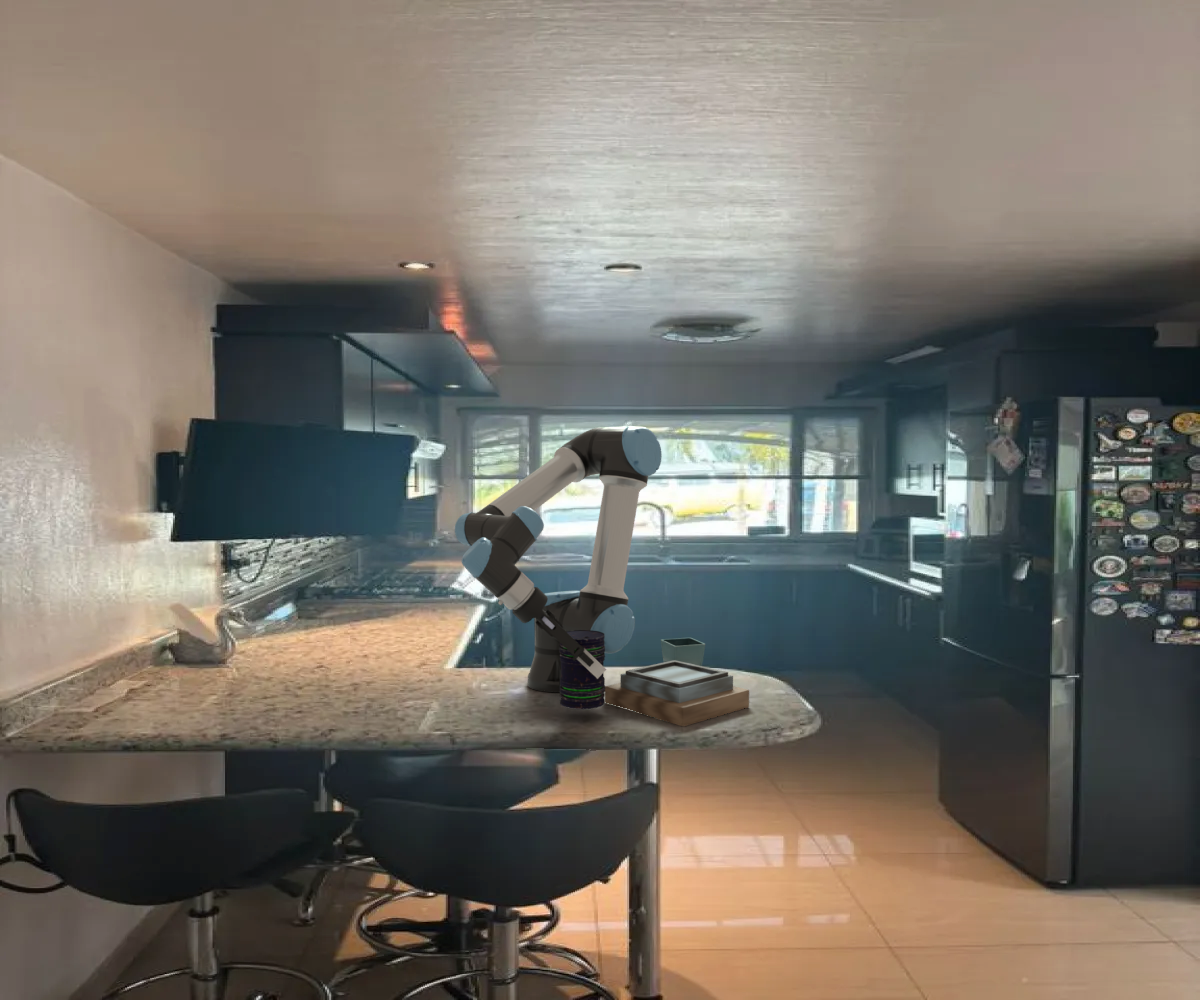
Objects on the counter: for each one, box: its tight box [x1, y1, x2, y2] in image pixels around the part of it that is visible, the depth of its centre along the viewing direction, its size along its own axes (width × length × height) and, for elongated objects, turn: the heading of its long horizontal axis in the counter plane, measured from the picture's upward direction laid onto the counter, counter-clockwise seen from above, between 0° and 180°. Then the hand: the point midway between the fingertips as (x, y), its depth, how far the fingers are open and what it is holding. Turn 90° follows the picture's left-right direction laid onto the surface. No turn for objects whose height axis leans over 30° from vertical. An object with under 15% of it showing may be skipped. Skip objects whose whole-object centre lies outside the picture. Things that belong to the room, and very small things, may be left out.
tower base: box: [604, 660, 750, 727], centre depth 211 cm, size 24×22×8 cm
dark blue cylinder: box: [559, 630, 606, 710], centre depth 200 cm, size 10×10×15 cm
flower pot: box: [660, 637, 706, 666], centre depth 239 cm, size 9×9×9 cm
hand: (596, 667), depth 201 cm, fingers closed on dark blue cylinder, 10 cm apart
